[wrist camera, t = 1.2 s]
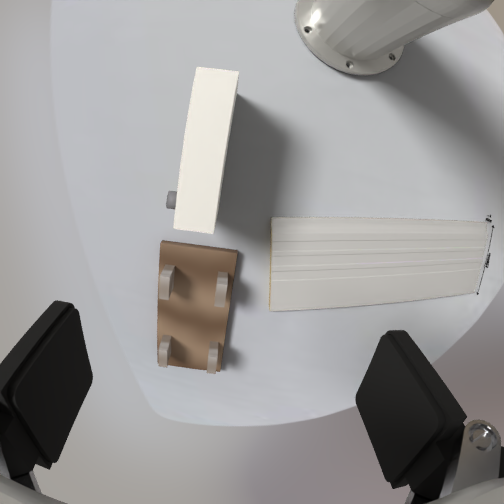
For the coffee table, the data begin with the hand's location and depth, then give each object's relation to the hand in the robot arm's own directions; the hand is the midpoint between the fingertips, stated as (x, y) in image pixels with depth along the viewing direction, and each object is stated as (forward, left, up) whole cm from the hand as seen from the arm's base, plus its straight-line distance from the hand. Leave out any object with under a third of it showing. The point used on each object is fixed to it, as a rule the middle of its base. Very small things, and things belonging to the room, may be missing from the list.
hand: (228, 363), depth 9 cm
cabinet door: (-6, -3, -24) cm, 24 cm away
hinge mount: (+12, -3, -24) cm, 27 cm away
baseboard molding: (+3, +20, -24) cm, 32 cm away
